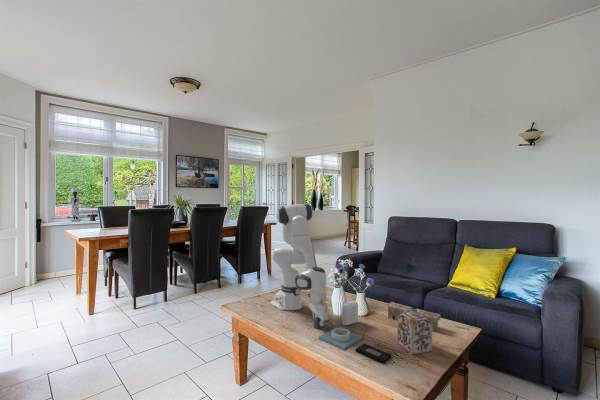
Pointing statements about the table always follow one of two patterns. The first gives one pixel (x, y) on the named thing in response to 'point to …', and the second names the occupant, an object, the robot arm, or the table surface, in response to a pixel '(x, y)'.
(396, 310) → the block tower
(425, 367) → the table surface
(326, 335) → the dock
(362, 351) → the vhs tape
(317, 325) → the dark grey block
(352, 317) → the photo printer
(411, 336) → the decorative jar
